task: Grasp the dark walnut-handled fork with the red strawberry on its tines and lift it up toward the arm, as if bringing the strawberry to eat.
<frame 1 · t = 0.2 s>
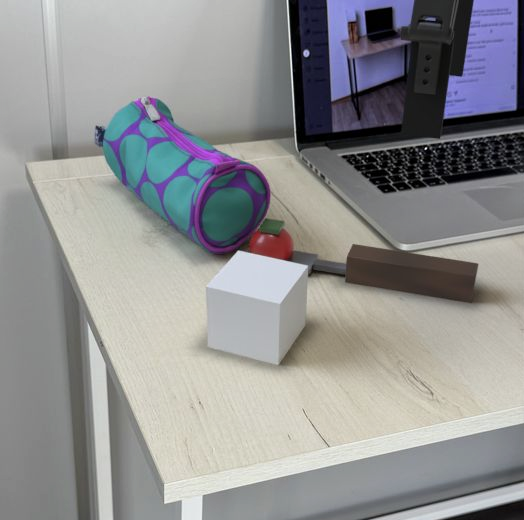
hand: (434, 102, 67), 17 cm above the table, tool pointing down, fingers open, 13 cm apart
pencil case: (182, 216, 89), on the table
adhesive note: (257, 341, 71), on the table
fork: (408, 289, 77), on the table
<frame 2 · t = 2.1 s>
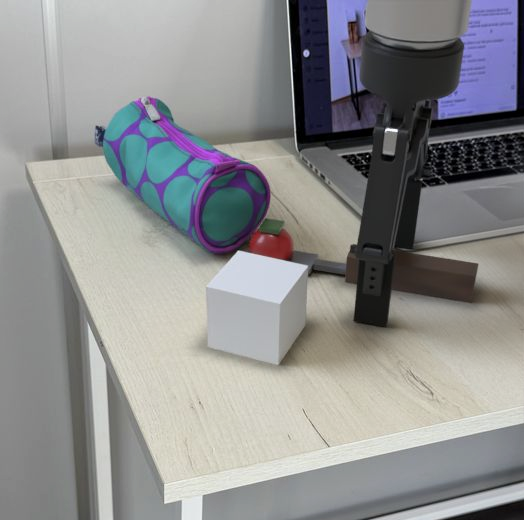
hand: (385, 281, 78), 0 cm above the table, tool pointing down, fingers open, 13 cm apart
nothing on the table moved.
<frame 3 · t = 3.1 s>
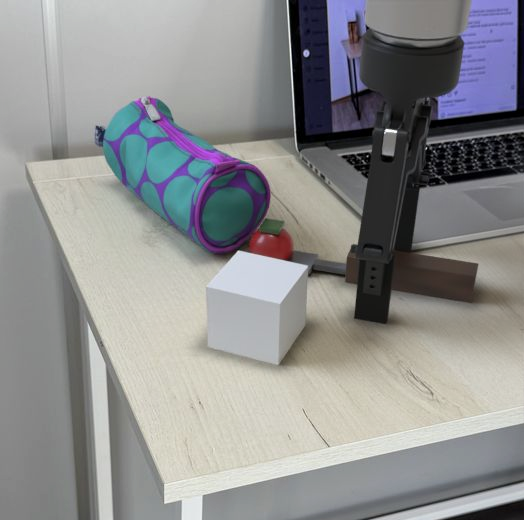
hand: (384, 283, 78), 0 cm above the table, tool pointing down, fingers open, 12 cm apart
nothing on the table moved.
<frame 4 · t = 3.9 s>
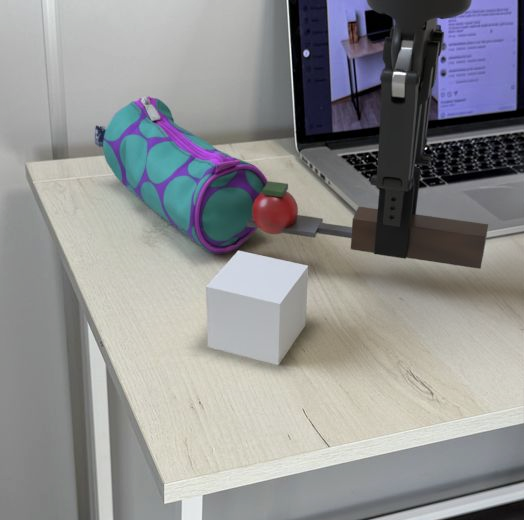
hand: (393, 245, 75), 4 cm above the table, tool pointing down, fingers closed on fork, 2 cm apart
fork: (416, 252, 75), point 4 cm above the table, touching gripper
everything else where it was.
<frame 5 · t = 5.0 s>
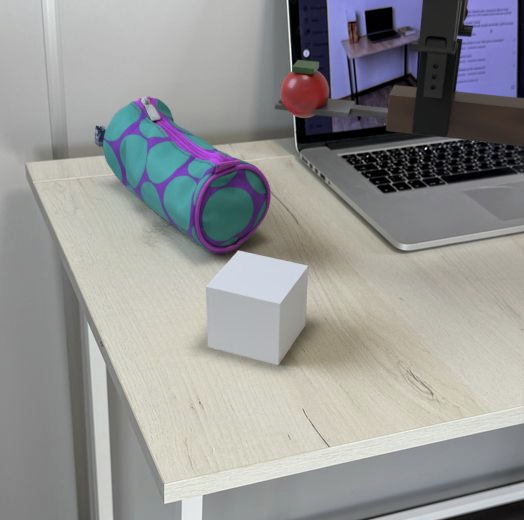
hand: (432, 125, 71), 14 cm above the table, tool pointing down, fingers closed on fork, 2 cm apart
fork: (456, 133, 71), point 14 cm above the table, touching gripper
everything else where it was.
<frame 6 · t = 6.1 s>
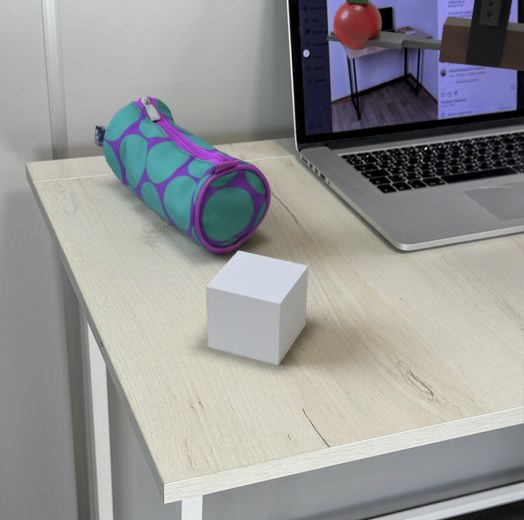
hand: (484, 57, 71), 18 cm above the table, tool pointing down, fingers closed on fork, 2 cm apart
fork: (508, 64, 71), point 18 cm above the table, touching gripper
everything else where it was.
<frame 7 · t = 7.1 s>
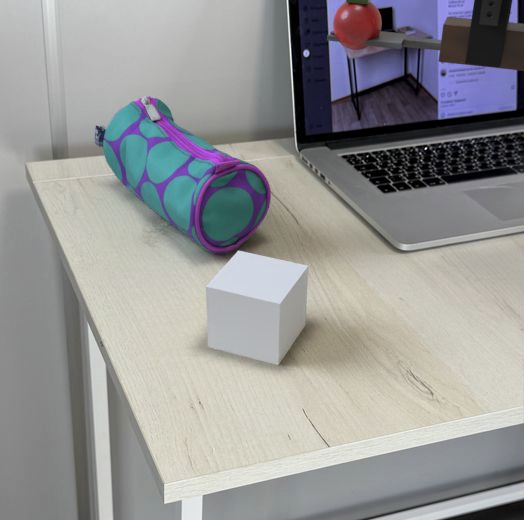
hand: (484, 57, 71), 18 cm above the table, tool pointing down, fingers closed on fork, 2 cm apart
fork: (508, 64, 71), point 18 cm above the table, touching gripper
everything else where it was.
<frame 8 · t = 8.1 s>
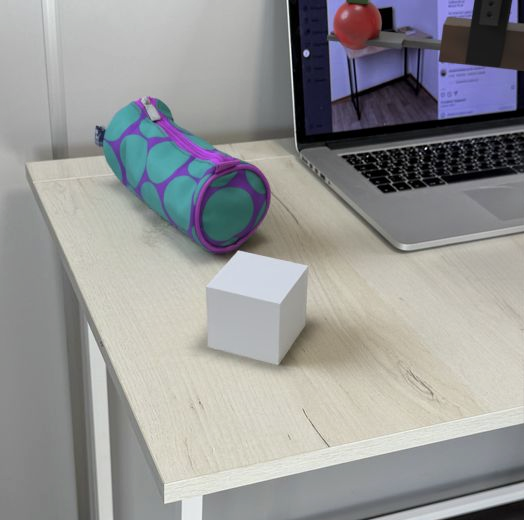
hand: (484, 57, 71), 18 cm above the table, tool pointing down, fingers closed on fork, 2 cm apart
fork: (508, 64, 71), point 18 cm above the table, touching gripper
everything else where it was.
at the end: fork point 18.1 cm above the table; the gripper is holding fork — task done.
